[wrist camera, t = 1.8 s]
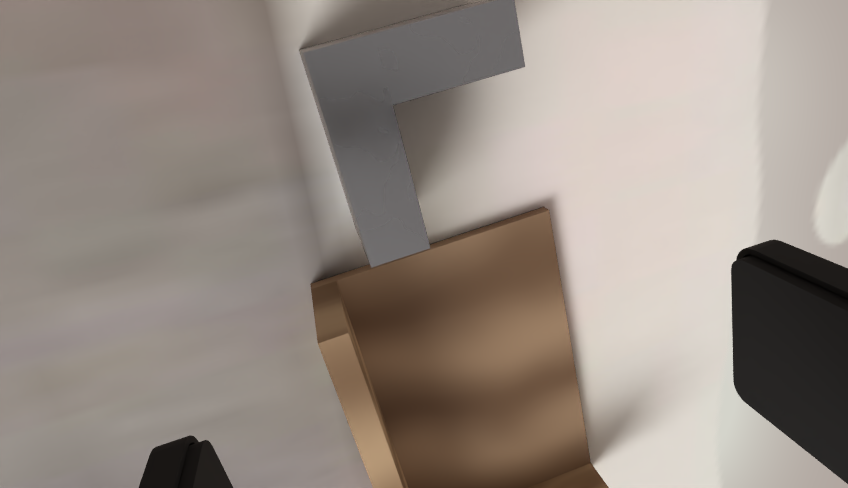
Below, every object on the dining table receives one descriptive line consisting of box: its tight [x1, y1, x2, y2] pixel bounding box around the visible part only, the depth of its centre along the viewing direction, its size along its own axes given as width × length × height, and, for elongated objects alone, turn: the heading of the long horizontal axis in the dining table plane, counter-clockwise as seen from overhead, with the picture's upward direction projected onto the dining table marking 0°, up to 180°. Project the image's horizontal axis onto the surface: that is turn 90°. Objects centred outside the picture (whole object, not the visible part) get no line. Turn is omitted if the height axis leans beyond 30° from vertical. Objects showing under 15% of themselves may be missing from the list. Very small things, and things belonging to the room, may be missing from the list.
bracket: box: [299, 0, 525, 268], centre depth 22 cm, size 8×7×5 cm
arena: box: [311, 207, 609, 488], centre depth 28 cm, size 18×12×6 cm, turn 14°
